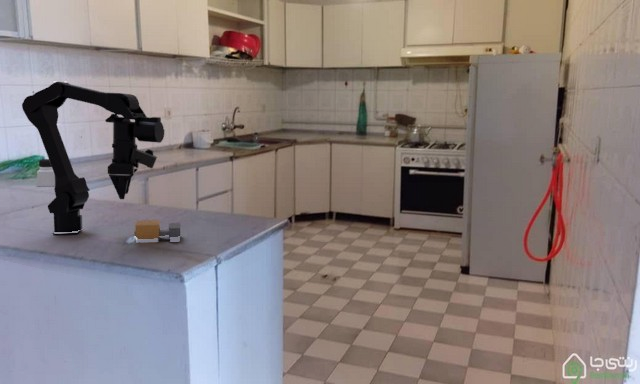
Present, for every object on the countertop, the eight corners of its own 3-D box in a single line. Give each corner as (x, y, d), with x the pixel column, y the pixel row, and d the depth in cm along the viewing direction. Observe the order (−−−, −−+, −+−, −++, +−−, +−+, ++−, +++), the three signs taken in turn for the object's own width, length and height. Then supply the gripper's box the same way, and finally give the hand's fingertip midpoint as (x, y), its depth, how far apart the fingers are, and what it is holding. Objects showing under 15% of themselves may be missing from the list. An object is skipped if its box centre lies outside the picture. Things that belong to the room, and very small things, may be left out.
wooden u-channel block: (135, 243, 136) (135, 225, 136) (137, 237, 142) (137, 220, 142) (159, 243, 138) (159, 224, 137) (159, 237, 144) (159, 220, 143)
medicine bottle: (55, 186, 231) (54, 160, 229) (37, 186, 228) (36, 160, 226) (57, 184, 237) (56, 158, 235) (39, 184, 235) (38, 158, 233)
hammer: (133, 243, 136) (133, 229, 135) (135, 237, 142) (135, 223, 142) (180, 242, 139) (180, 228, 138) (180, 236, 146) (180, 222, 145)
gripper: (153, 143, 132) (152, 202, 135) (157, 139, 150) (156, 191, 153) (107, 141, 130) (107, 202, 132) (116, 137, 147) (116, 190, 150)
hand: (124, 196), depth 142 cm, fingers open, 9 cm apart
